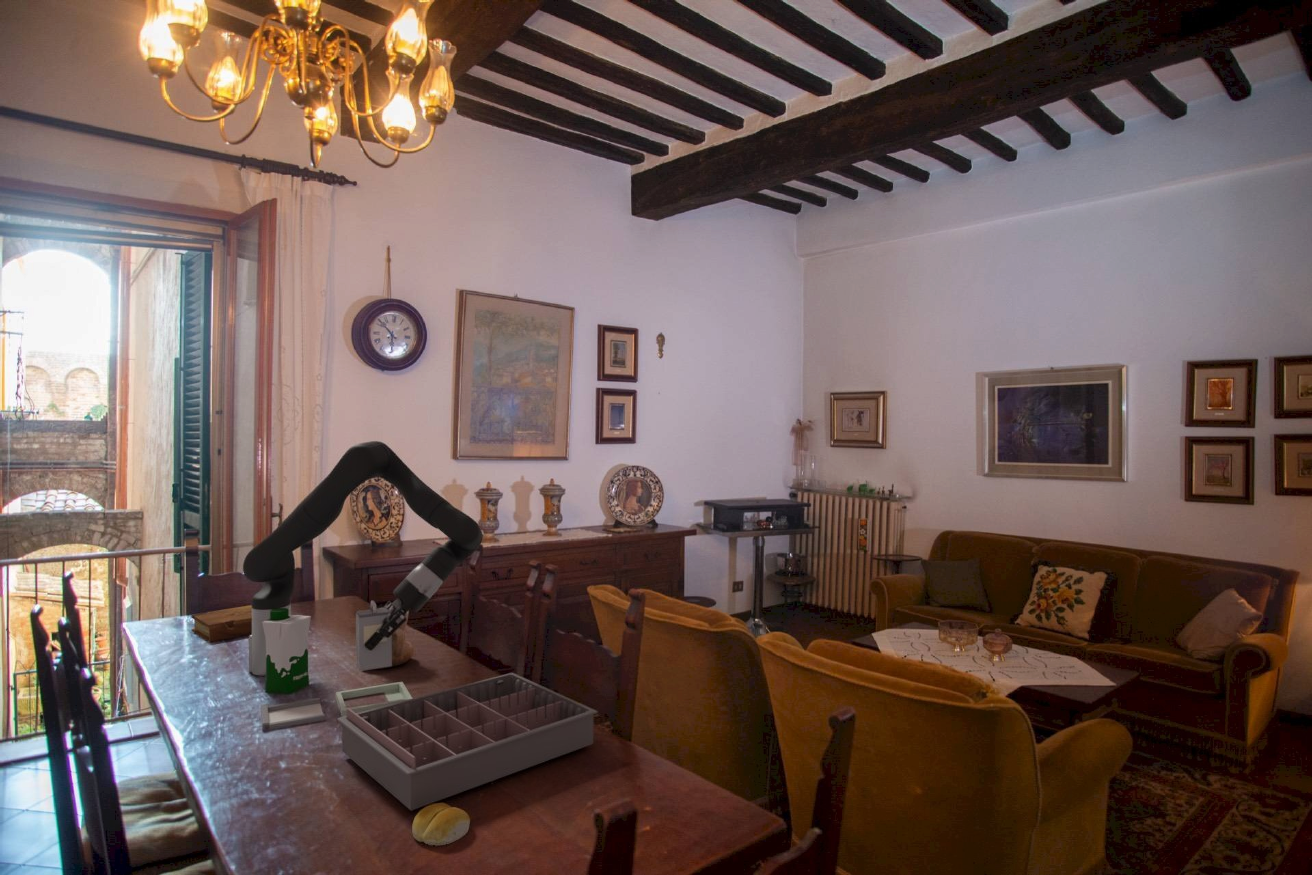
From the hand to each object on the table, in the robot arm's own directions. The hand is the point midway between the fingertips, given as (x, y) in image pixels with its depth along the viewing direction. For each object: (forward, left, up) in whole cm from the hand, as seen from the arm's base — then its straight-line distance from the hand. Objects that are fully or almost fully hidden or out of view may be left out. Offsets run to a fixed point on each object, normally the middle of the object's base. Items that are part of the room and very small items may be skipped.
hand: (365, 644), depth 172 cm
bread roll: (+45, -41, -15) cm, 63 cm away
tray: (+1, +1, -15) cm, 15 cm away
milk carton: (-25, +3, -15) cm, 29 cm away
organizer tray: (+35, -15, -15) cm, 41 cm away
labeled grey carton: (+1, +1, -5) cm, 5 cm away
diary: (-81, +45, -15) cm, 94 cm away
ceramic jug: (-15, +28, -15) cm, 35 cm away
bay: (-11, -11, -15) cm, 21 cm away
